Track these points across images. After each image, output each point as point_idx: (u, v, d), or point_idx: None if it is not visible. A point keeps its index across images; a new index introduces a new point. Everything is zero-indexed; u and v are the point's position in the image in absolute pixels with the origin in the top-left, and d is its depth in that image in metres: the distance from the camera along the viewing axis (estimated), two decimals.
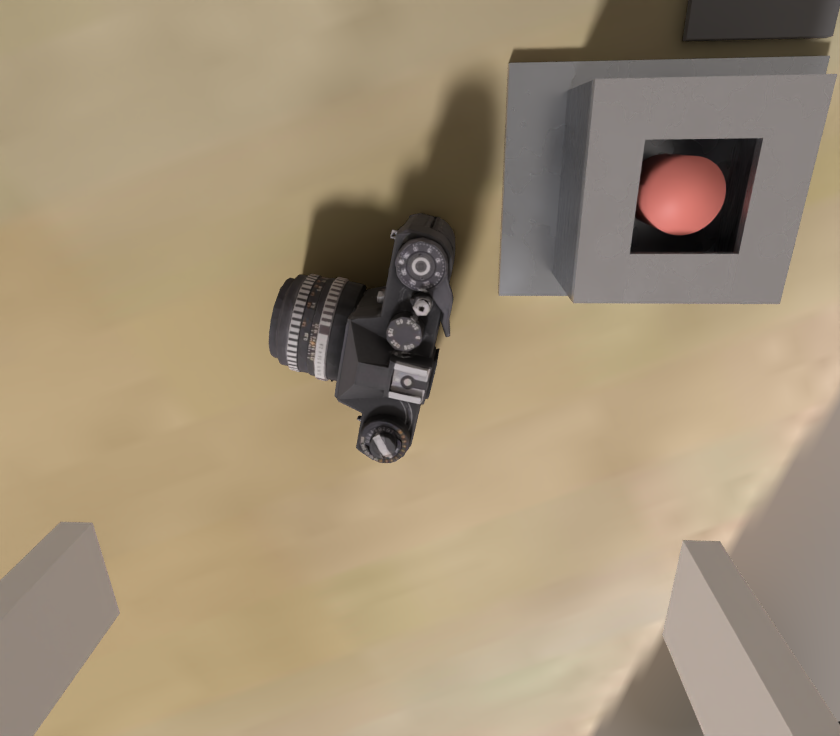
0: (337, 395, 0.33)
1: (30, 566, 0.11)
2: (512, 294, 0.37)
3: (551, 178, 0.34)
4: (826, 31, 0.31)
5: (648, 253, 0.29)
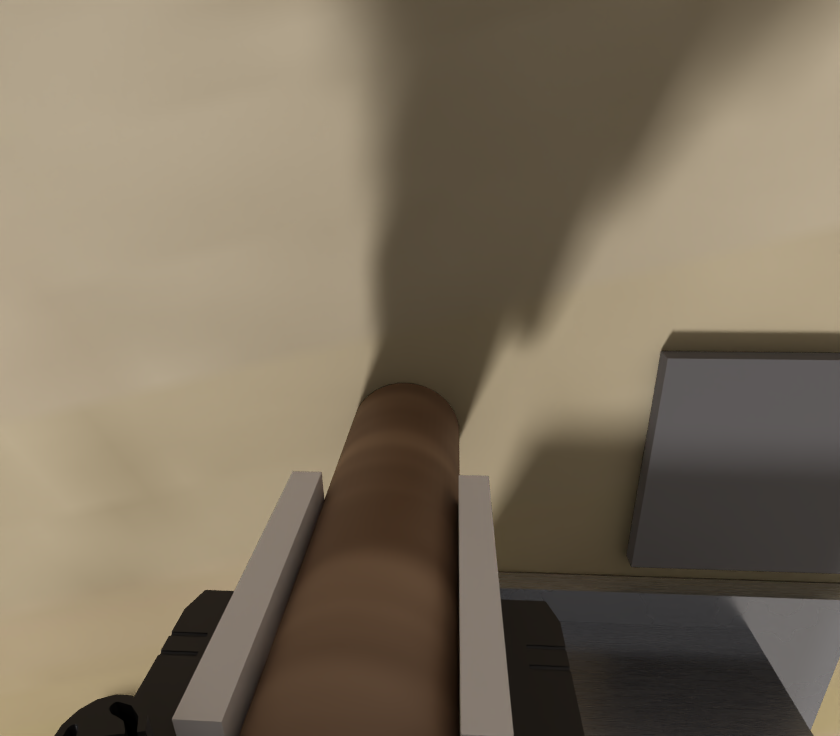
0: None
1: (290, 504, 0.13)
2: None
3: None
4: None
5: None
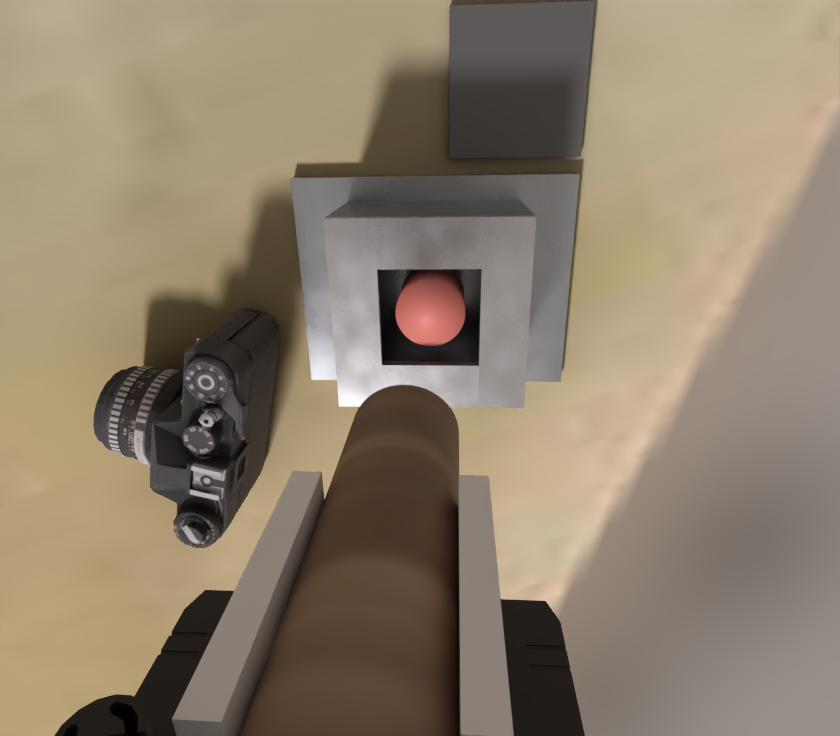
0: (152, 487, 0.36)
1: (290, 504, 0.13)
2: (324, 378, 0.40)
3: None
4: (574, 152, 0.33)
5: (399, 364, 0.32)
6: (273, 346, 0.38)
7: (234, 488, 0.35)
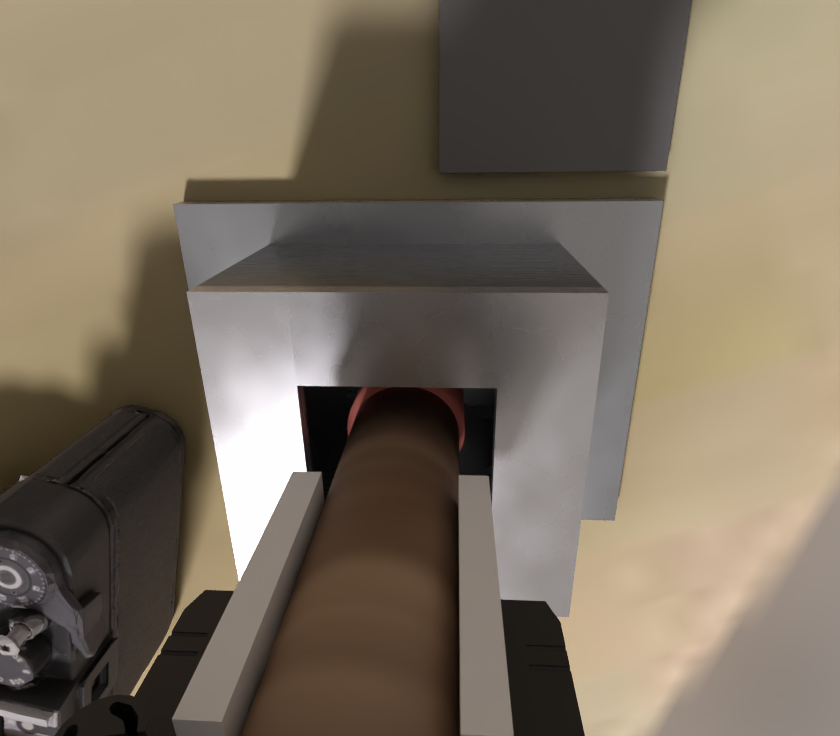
0: None
1: (290, 504, 0.13)
2: None
3: None
4: (655, 164, 0.19)
5: None
6: (168, 469, 0.24)
7: None
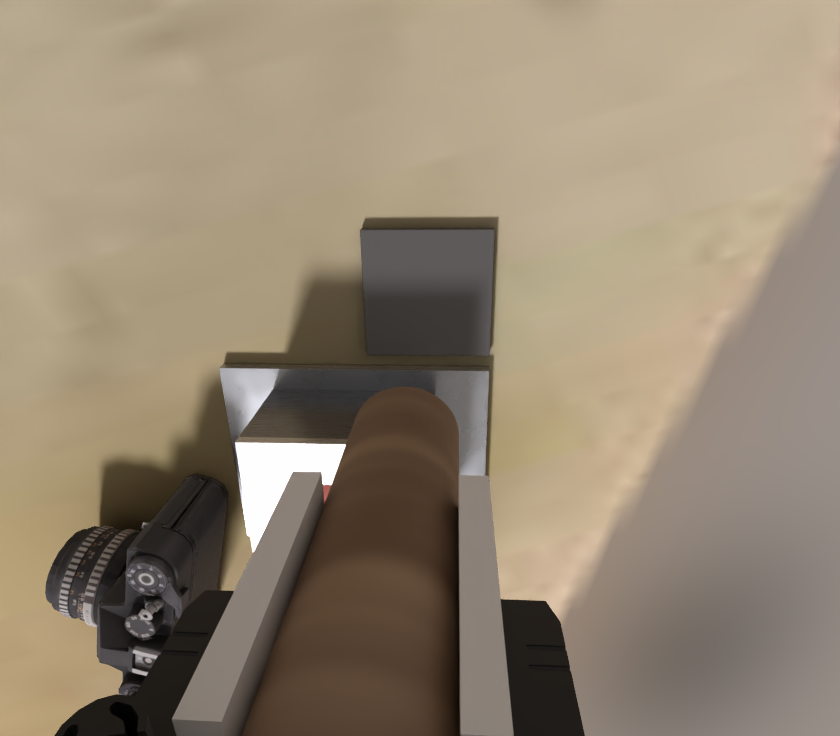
0: (98, 657, 0.38)
1: (290, 504, 0.13)
2: None
3: None
4: (483, 352, 0.35)
5: None
6: (220, 514, 0.40)
7: None
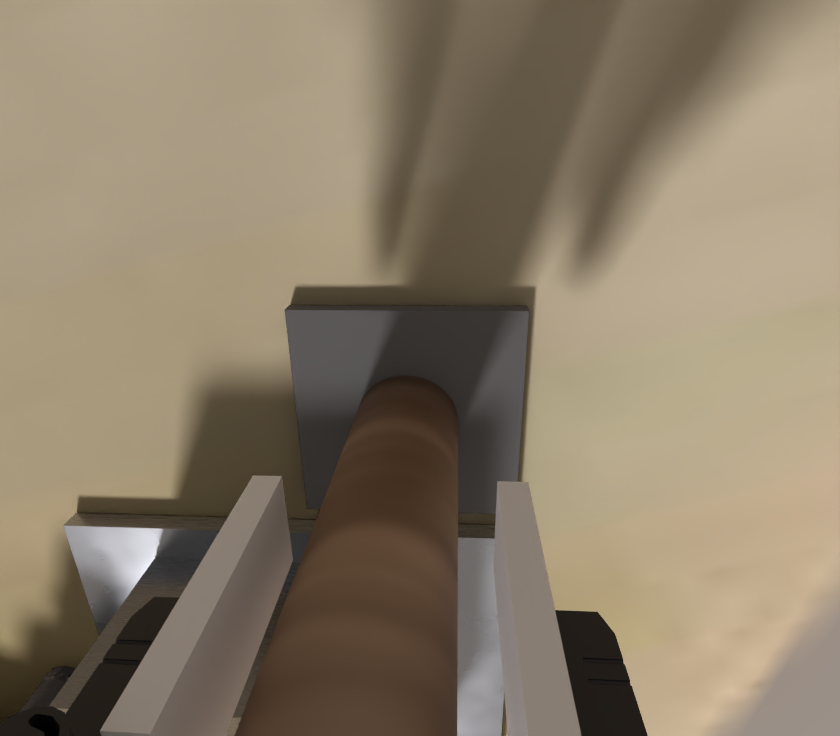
0: None
1: (246, 509, 0.13)
2: None
3: None
4: None
5: None
6: None
7: None
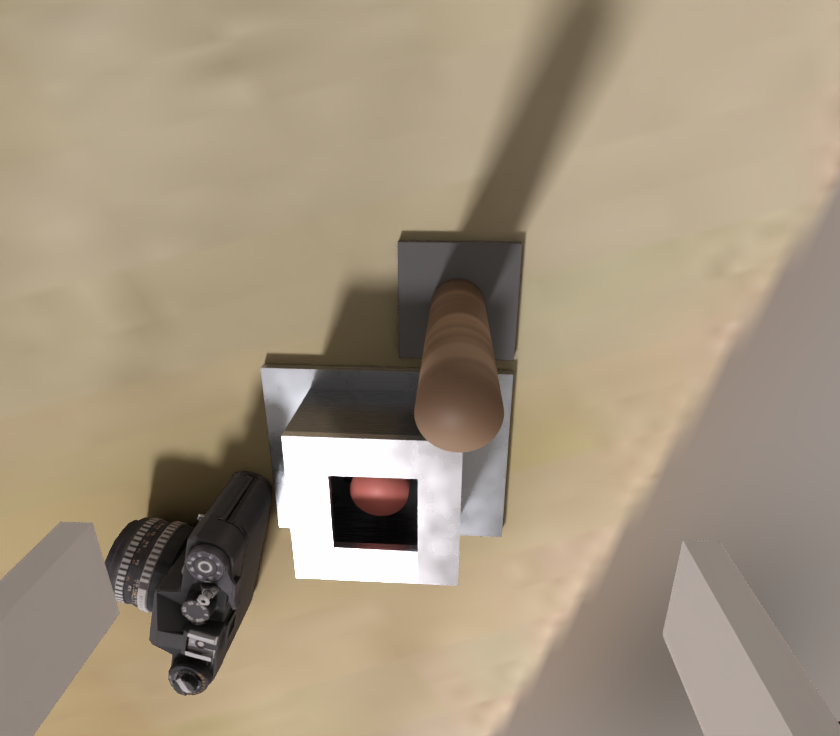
0: (151, 640, 0.40)
1: (30, 566, 0.11)
2: (290, 526, 0.45)
3: None
4: (508, 357, 0.38)
5: (349, 546, 0.36)
6: (266, 509, 0.43)
7: (224, 646, 0.40)
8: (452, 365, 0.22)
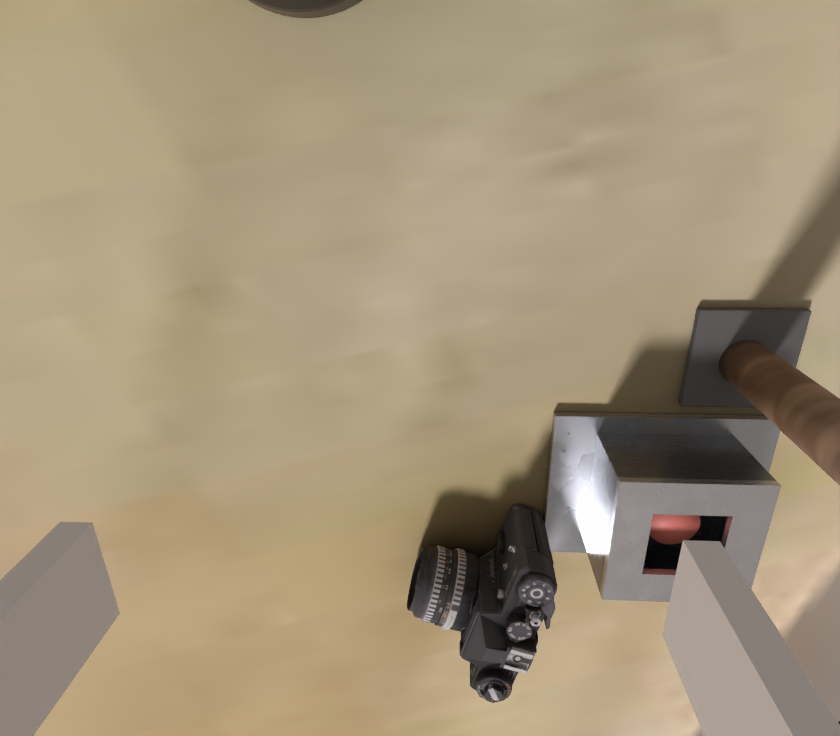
0: (462, 655, 0.46)
1: (30, 566, 0.11)
2: (552, 550, 0.50)
3: (584, 483, 0.47)
4: None
5: (655, 572, 0.42)
6: None
7: None
8: None
